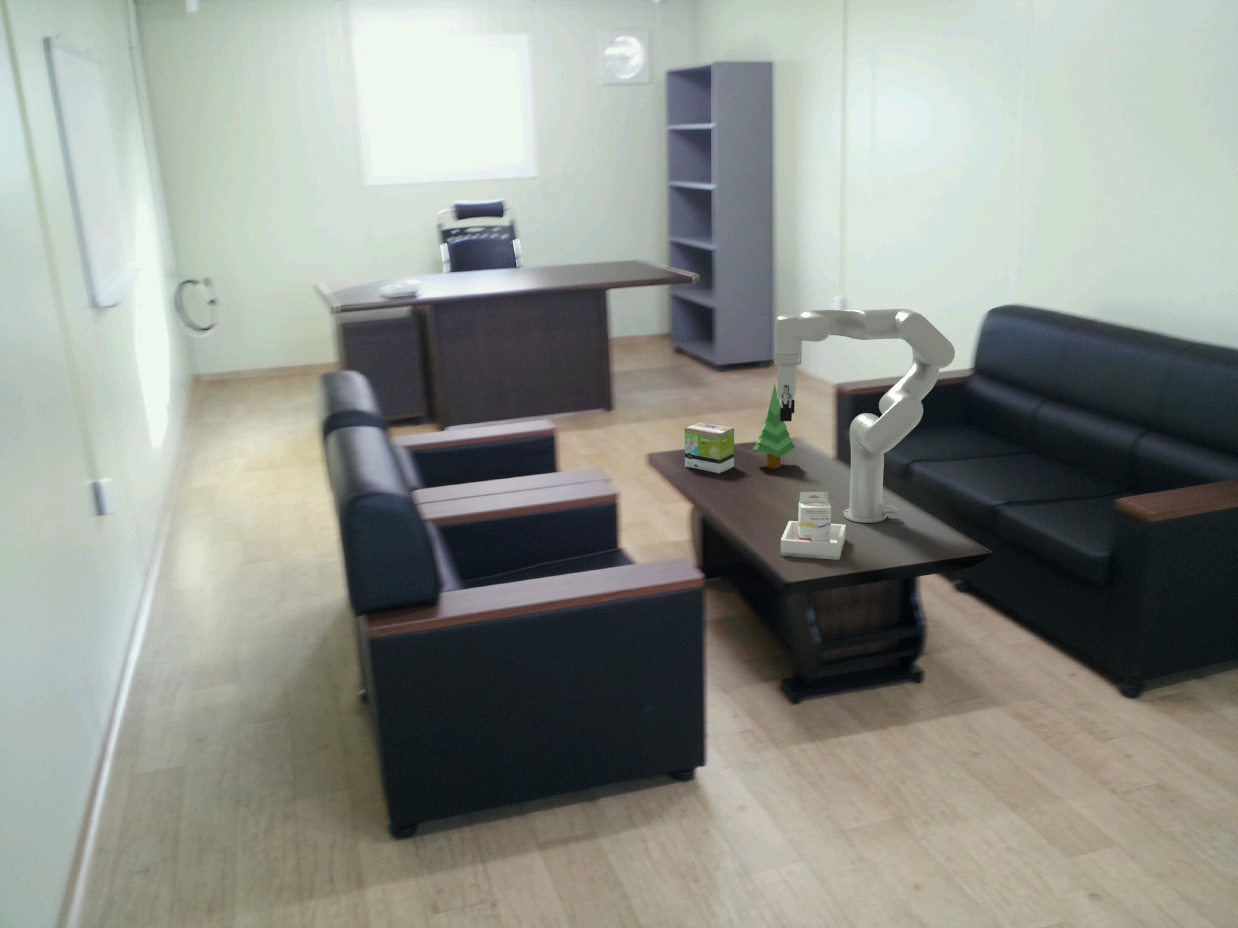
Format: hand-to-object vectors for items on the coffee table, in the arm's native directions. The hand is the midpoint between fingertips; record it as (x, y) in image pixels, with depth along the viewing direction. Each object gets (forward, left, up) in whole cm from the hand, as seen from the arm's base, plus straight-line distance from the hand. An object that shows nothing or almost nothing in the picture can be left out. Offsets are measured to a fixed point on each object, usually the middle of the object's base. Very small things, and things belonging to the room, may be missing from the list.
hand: (787, 417), depth 301 cm
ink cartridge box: (-11, +20, -32) cm, 39 cm away
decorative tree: (+13, -57, -33) cm, 67 cm away
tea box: (+35, -52, -33) cm, 70 cm away
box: (-10, +19, -32) cm, 39 cm away
